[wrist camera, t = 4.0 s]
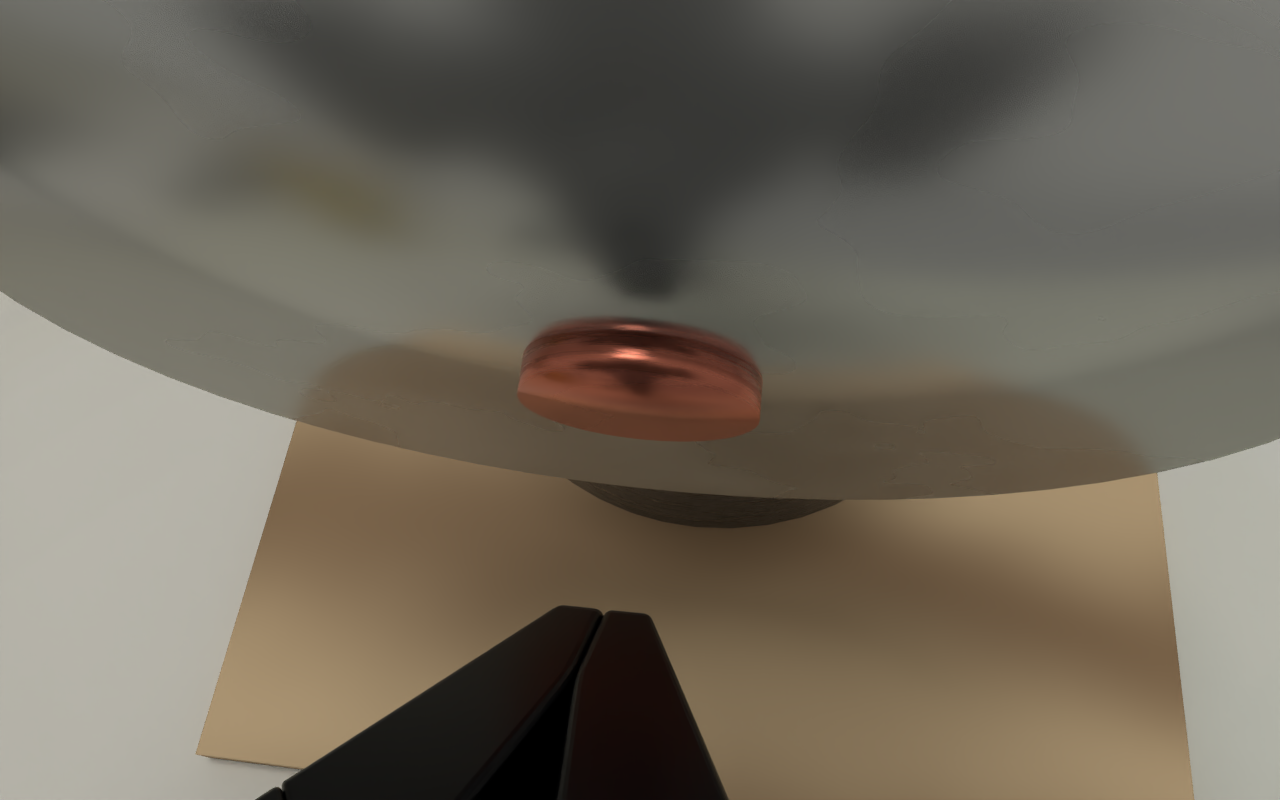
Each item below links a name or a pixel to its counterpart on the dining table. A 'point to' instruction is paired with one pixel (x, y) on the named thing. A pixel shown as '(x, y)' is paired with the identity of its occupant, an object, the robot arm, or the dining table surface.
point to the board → (733, 625)
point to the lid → (673, 228)
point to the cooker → (704, 506)
